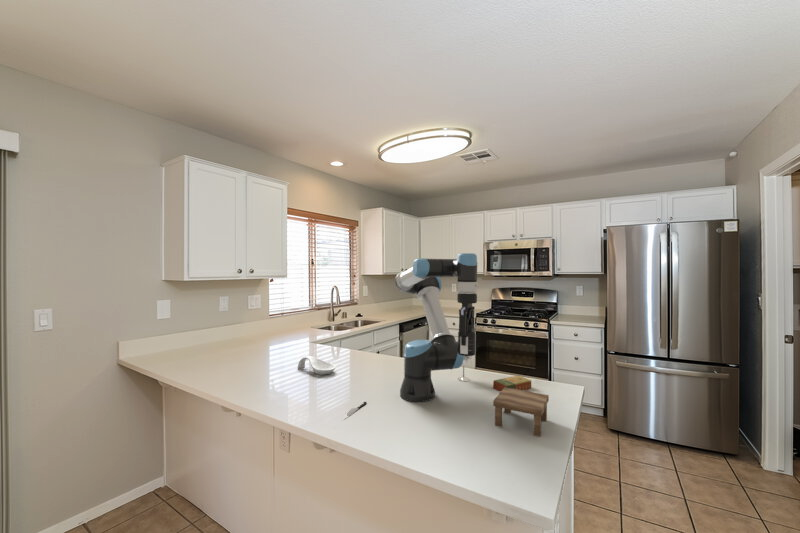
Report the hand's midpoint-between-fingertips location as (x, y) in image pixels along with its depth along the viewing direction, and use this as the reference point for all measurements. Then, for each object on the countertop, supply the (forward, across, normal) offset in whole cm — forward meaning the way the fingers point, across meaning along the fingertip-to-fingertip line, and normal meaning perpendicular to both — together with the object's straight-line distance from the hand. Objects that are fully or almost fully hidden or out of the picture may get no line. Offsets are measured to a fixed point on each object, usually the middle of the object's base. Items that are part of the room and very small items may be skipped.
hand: (466, 351), depth 135 cm
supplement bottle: (+1, 0, 0) cm, 1 cm away
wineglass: (+23, +36, +12) cm, 45 cm away
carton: (+24, +34, -12) cm, 43 cm away
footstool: (+23, -1, -20) cm, 31 cm away
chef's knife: (+24, -21, +39) cm, 51 cm away
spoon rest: (+23, +12, +85) cm, 89 cm away
